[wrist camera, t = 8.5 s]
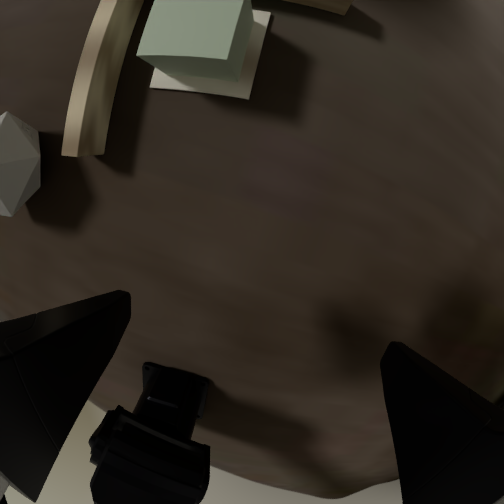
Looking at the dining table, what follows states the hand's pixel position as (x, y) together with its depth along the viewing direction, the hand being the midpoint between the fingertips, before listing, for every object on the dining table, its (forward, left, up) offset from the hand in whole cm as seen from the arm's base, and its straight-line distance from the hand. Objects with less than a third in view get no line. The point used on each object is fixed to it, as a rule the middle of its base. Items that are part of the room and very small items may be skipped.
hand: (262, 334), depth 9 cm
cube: (+12, +7, -11) cm, 18 cm away
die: (+2, +22, -12) cm, 25 cm away
